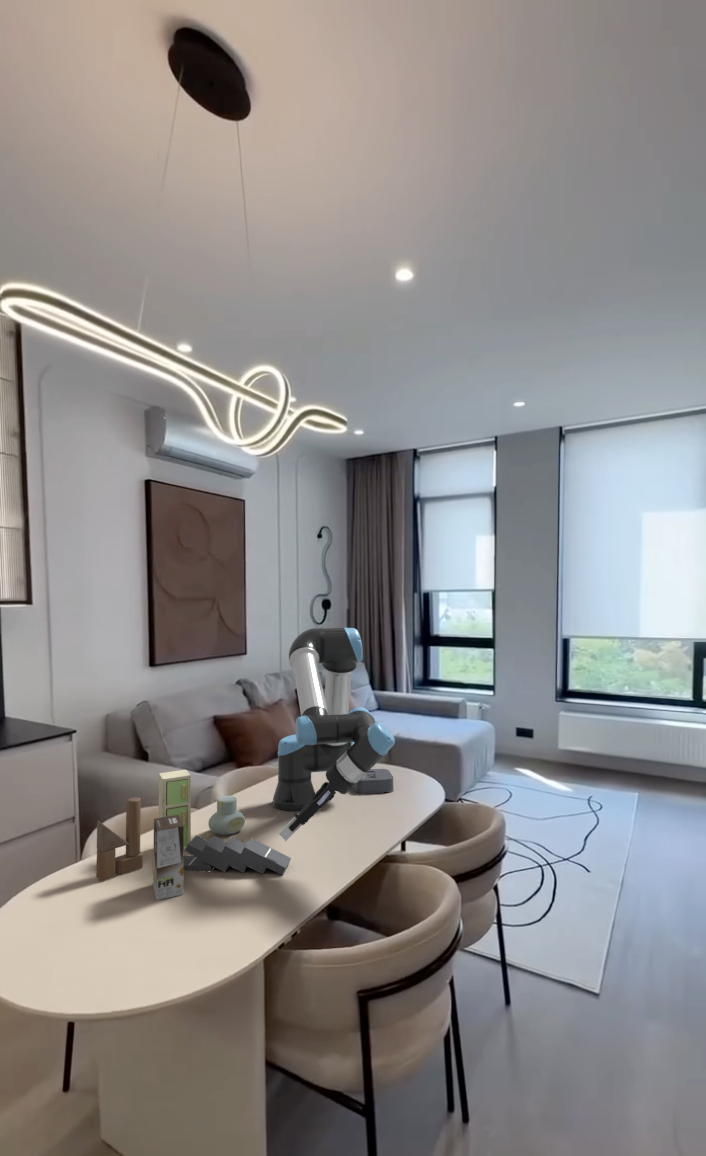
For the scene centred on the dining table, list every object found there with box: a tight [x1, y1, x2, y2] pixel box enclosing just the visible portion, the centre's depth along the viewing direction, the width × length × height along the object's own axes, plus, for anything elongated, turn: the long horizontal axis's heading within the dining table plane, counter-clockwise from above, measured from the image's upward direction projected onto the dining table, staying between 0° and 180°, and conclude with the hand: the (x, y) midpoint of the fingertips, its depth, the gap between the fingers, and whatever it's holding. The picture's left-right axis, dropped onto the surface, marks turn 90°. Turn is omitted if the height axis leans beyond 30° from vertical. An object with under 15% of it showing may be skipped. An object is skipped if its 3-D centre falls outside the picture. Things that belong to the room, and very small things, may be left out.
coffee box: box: [152, 815, 185, 901], centre depth 139 cm, size 9×6×16 cm
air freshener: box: [207, 795, 246, 836], centre depth 175 cm, size 11×8×10 cm
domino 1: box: [184, 835, 230, 873], centre depth 151 cm, size 2×6×12 cm
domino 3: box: [203, 835, 248, 874], centre depth 151 cm, size 2×6×12 cm
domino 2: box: [183, 855, 215, 873], centre depth 151 cm, size 2×6×12 cm
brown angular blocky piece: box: [95, 796, 143, 882], centre depth 148 cm, size 4×11×18 cm, turn 135°
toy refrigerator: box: [158, 769, 192, 850], centre depth 163 cm, size 8×7×21 cm
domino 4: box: [222, 836, 268, 875], centre depth 150 cm, size 2×6×12 cm
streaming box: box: [352, 768, 394, 795], centre depth 218 cm, size 14×14×5 cm
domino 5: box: [241, 837, 292, 876], centre depth 149 cm, size 2×6×12 cm
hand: (282, 836), depth 149 cm, fingers closed
